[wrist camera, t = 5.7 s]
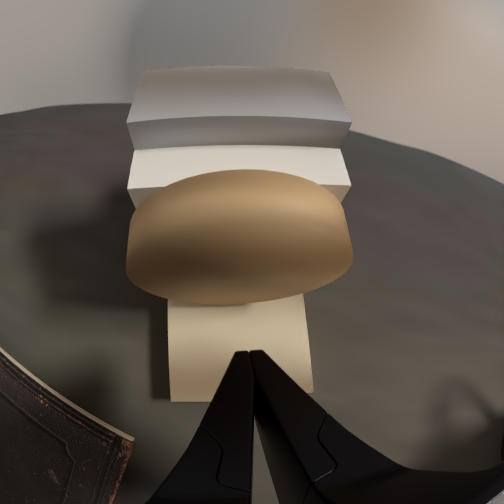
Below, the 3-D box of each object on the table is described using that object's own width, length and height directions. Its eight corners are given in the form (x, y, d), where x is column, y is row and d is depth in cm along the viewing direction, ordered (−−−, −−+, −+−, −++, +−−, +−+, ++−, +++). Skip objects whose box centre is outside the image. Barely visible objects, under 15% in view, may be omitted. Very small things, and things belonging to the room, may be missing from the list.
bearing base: (307, 391, 15) (419, 401, 5) (175, 399, 14) (97, 430, 5) (282, 190, 20) (321, 56, 10) (175, 193, 19) (149, 55, 10)
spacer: (301, 264, 16) (351, 185, 9) (164, 269, 15) (127, 188, 8) (297, 236, 16) (339, 148, 10) (165, 240, 15) (134, 150, 9)
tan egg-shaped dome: (316, 298, 15) (396, 221, 8) (153, 306, 14) (87, 230, 7) (293, 160, 18) (324, 51, 11) (163, 162, 17) (141, 50, 10)
